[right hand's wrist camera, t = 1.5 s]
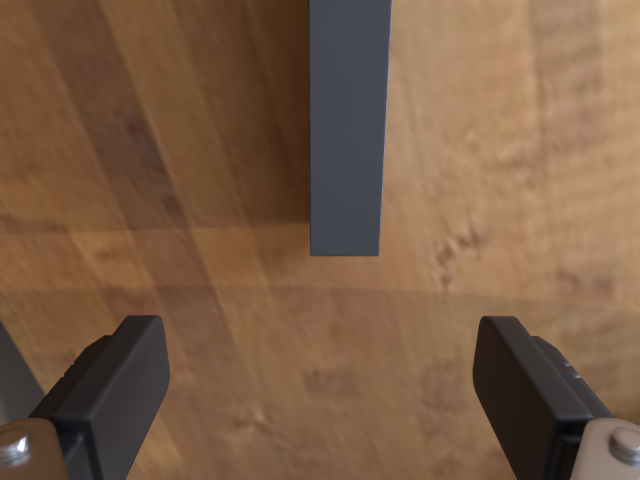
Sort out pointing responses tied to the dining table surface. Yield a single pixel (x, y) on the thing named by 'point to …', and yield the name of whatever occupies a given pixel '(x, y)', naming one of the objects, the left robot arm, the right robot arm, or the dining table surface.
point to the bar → (347, 123)
